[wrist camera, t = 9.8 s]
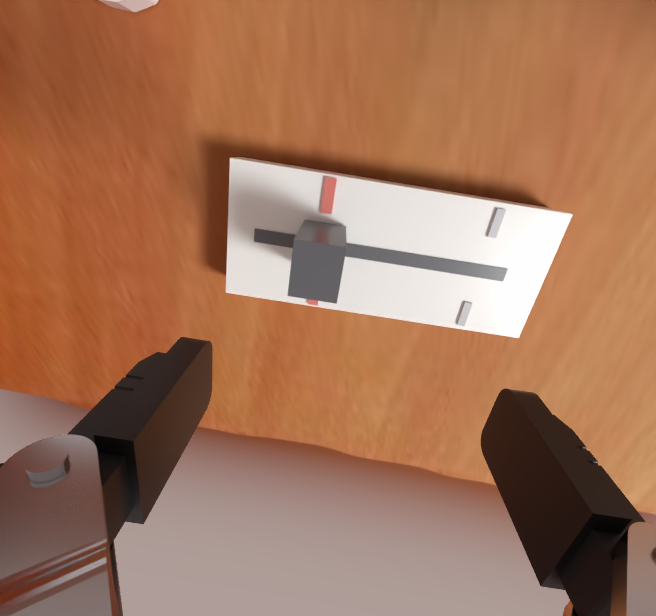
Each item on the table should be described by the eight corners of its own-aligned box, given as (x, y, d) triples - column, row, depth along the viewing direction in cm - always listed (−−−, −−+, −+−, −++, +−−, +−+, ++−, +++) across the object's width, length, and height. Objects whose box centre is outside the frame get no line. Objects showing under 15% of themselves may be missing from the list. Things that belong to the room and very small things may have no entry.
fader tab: (346, 226, 25) (346, 247, 20) (338, 271, 26) (336, 303, 21) (304, 219, 25) (293, 238, 19) (299, 265, 26) (287, 296, 21)
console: (549, 207, 27) (574, 214, 24) (503, 321, 31) (519, 339, 28) (241, 156, 26) (228, 157, 23) (236, 279, 30) (225, 293, 28)
